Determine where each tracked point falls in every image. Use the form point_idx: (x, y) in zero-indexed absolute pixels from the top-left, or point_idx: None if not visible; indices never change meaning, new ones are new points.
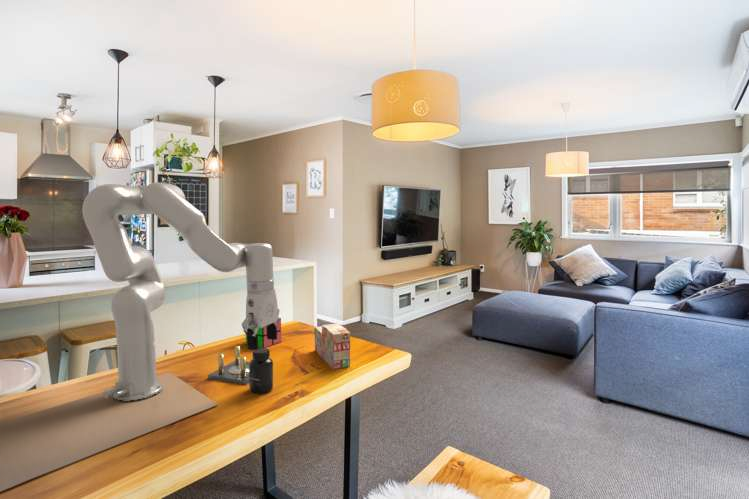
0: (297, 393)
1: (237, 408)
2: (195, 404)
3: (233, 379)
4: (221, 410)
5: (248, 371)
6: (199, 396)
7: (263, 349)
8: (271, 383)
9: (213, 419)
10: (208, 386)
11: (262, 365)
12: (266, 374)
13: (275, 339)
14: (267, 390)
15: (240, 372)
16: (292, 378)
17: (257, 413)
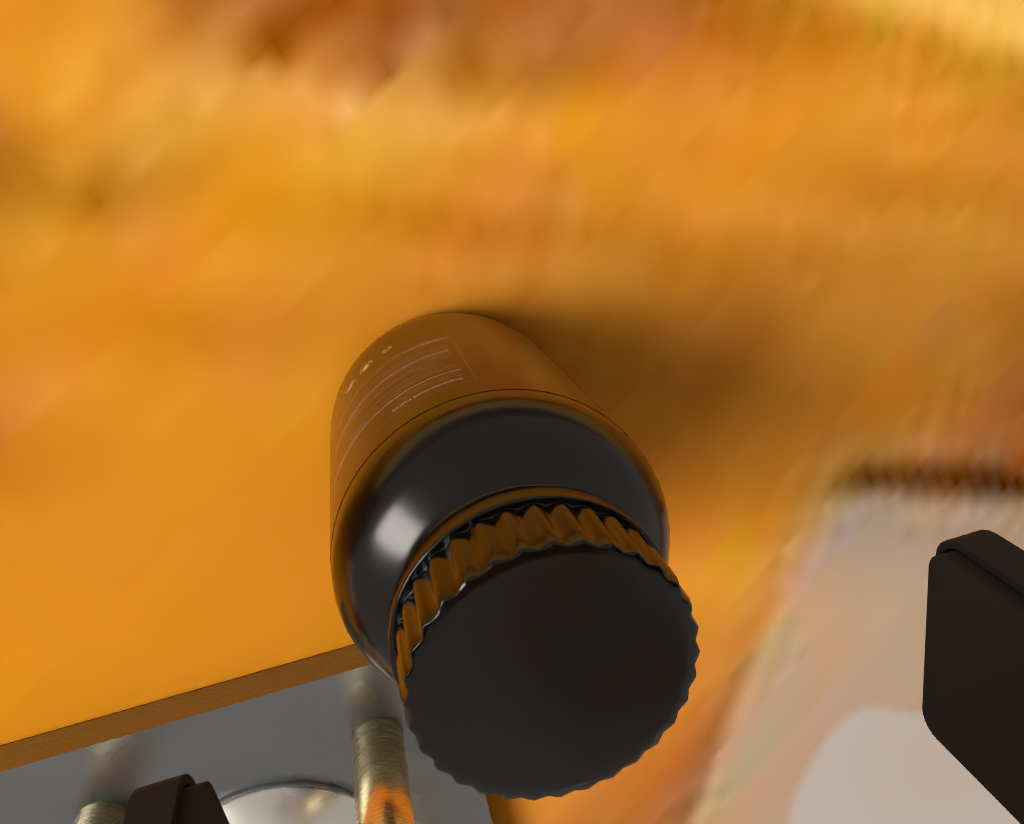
0: (294, 5)
1: (825, 304)
2: (878, 609)
3: None
4: (892, 383)
5: (277, 790)
6: (773, 696)
7: (489, 694)
8: (427, 331)
9: (1018, 313)
10: (618, 795)
11: (620, 438)
12: (537, 365)
13: (191, 781)
14: (482, 316)
15: (345, 816)
16: (4, 368)
17: (839, 70)
